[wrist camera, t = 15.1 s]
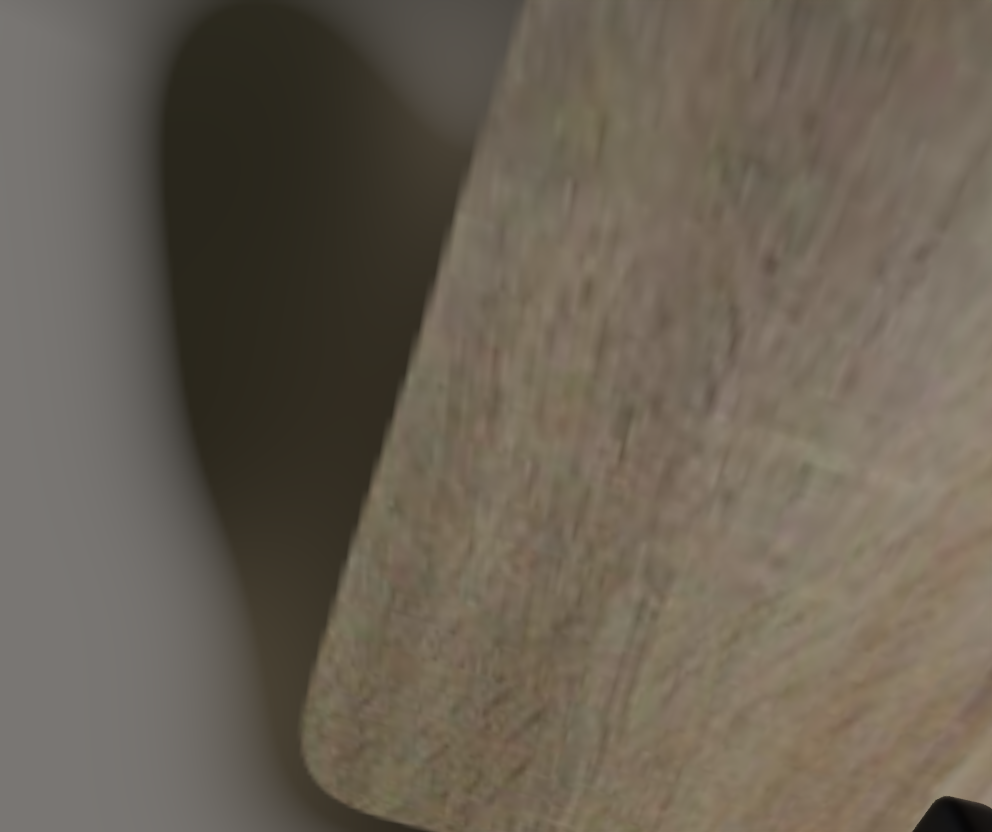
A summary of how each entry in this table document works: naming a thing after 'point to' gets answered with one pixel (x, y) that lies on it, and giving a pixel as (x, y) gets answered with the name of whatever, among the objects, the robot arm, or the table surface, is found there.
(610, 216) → the table surface
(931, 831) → the robot arm
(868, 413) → the table surface
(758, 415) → the table surface
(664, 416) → the table surface
